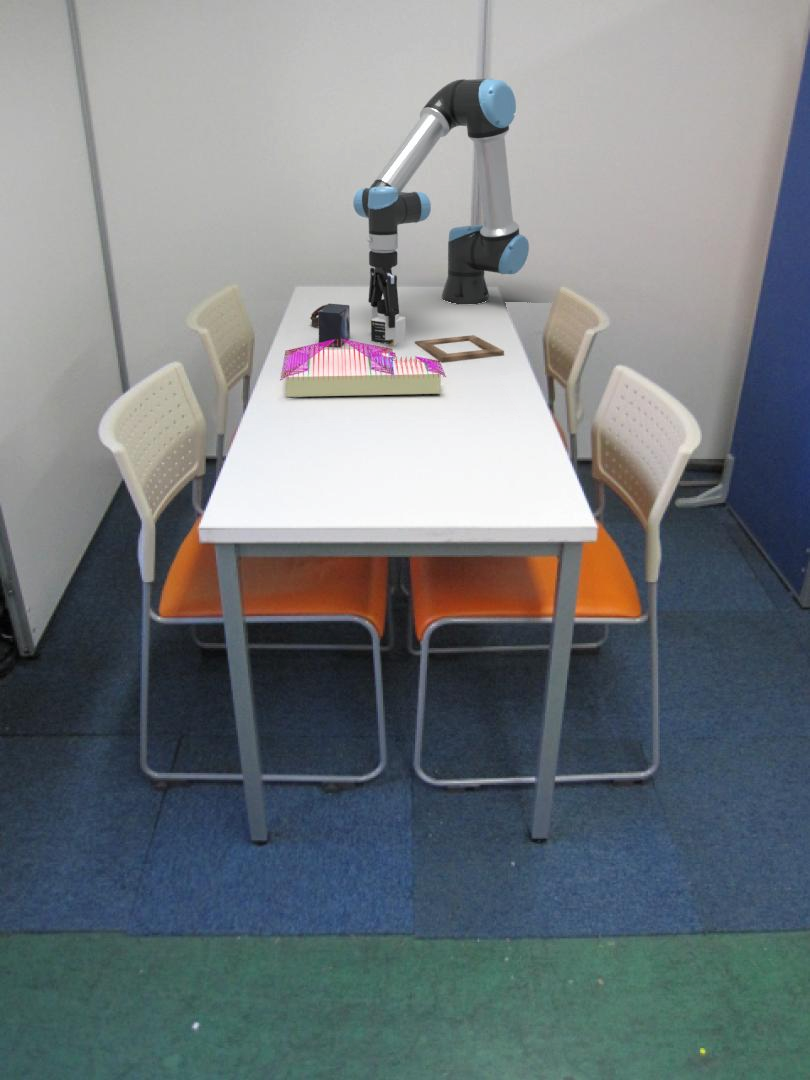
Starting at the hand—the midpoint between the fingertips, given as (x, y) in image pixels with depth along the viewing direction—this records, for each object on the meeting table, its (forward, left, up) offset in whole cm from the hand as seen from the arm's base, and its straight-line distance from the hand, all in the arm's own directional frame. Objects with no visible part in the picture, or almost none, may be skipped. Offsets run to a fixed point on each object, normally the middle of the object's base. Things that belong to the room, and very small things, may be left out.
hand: (383, 334), depth 240 cm
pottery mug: (+7, -22, -4) cm, 23 cm away
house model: (+16, +28, -3) cm, 33 cm away
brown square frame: (-16, +14, -3) cm, 22 cm away
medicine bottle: (-2, 0, -3) cm, 3 cm away
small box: (+13, -4, -3) cm, 14 cm away
